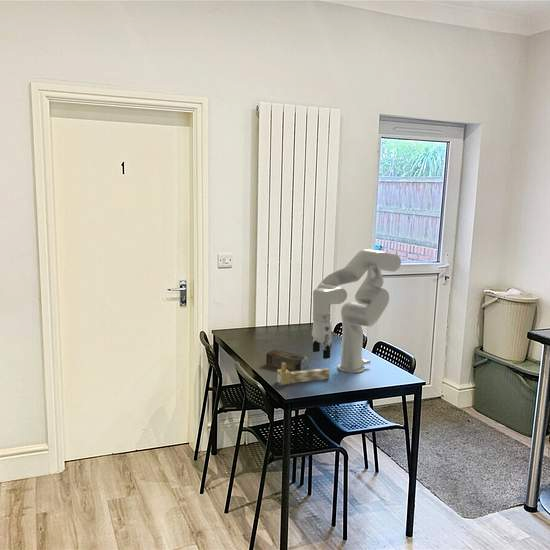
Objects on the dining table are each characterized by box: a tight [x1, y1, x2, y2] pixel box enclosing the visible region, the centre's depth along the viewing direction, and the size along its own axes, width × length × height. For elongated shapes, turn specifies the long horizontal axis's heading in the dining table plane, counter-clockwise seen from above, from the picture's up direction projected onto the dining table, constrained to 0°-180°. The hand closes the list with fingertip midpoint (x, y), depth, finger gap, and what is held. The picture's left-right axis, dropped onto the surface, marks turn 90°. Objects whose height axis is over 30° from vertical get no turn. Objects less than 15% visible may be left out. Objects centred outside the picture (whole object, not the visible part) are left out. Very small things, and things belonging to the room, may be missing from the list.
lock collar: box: [276, 362, 291, 386], centre depth 233 cm, size 4×5×9 cm
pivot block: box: [277, 373, 282, 386], centre depth 233 cm, size 4×3×4 cm
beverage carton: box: [265, 349, 310, 372], centre depth 256 cm, size 8×19×7 cm, turn 58°
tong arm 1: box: [289, 367, 329, 383], centre depth 239 cm, size 18×1×4 cm, turn 112°
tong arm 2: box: [290, 368, 330, 384], centre depth 237 cm, size 18×1×4 cm, turn 113°
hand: (321, 354), depth 239 cm, fingers open, 9 cm apart
